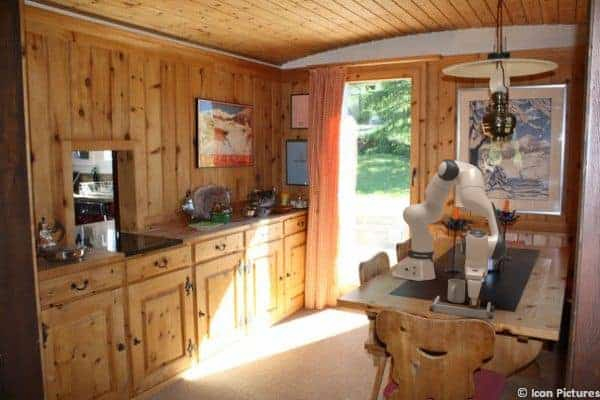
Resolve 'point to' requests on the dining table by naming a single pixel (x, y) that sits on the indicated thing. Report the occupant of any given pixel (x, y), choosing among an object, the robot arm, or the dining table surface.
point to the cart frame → (461, 310)
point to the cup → (456, 290)
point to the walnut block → (474, 305)
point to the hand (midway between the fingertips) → (474, 302)
